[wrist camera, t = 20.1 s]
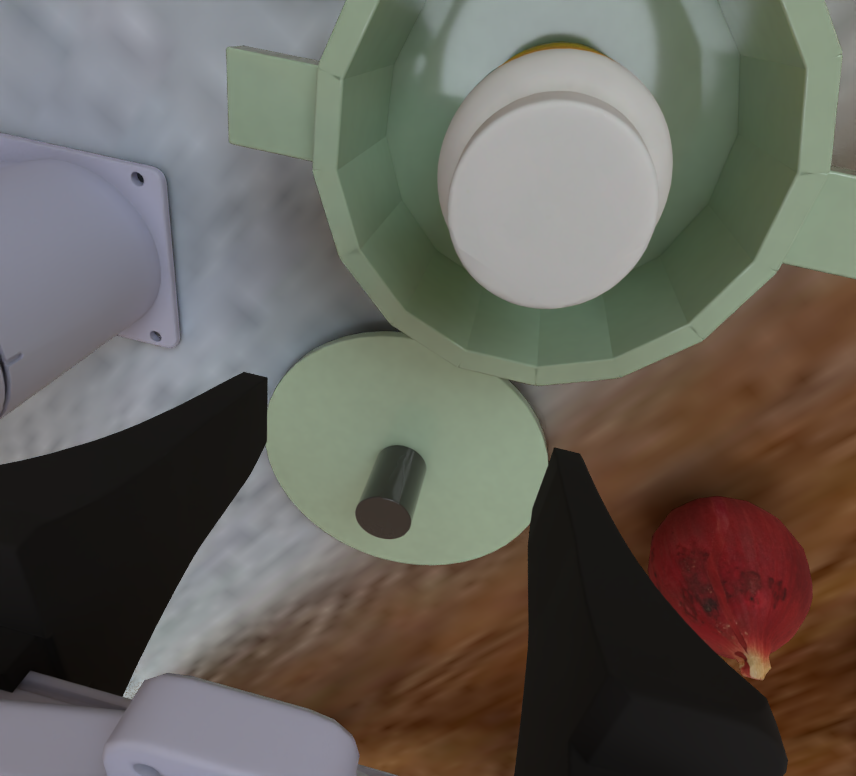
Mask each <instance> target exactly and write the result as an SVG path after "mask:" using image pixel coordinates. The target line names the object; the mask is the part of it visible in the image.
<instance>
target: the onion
mask: <svg viewBox="0 0 856 776" xmlns="http://www.w3.org/2000/svg"><path fill="white" fill-rule="evenodd" d="M648 572H649V577H650V579H651V581H652V582H653V583H654V585H655V586H656V587H657V589H658V590H659V591H660V592H661V594H662V595H663V596H664V597H665V599H666V600H667V601H668V602H669V603H670V604H671V605H672V607H673V608H674V609H675V610H676V611H677V612H678V614H679V615H680V616H681V617H682V618H683V619H684V621H685V622H686V623H687V624H688V625H689V626H690V627H691V628H692V629H693V630H694V631H695V632H696V633H697V634H698V635H699V637H700V638H701V639H702V640H703V641H704V642H705V643H706V644H707V645H708V646H709V647H711V648H712V649H713V650H714V651H715V652H716V653H717V654H718V655H721V656H723V657H727V658H730V659H736V660H737V662H738V663H739V668H740V672H741V673H742V675H743V676H746V677H750V678H753V679H756V680H763V679H764V677H765V675H766V673H767V672H768V671H769V670H770V669H771V665H770V661H769V655H770V653H772V652H774V651H776V650H777V649H779V648H780V647H781V646H783V645H784V644H785V643H787V642H788V641H789V640H790V639H791V638H792V637H793V636H794V635H795V633H796V632H797V630H798V629H799V627H800V626H801V624H802V623H803V621H804V619H805V617H806V615H807V613H808V612H809V609H810V606H811V602H812V598H813V596H812V580H811V575H810V570H809V565H808V562H807V559H806V556H805V552H804V549H803V548H802V546H801V545H800V544H799V543H798V541H797V540H796V539H795V538H794V536H793V535H792V534H791V533H790V532H789V530H788V529H787V528H786V527H785V526H784V524H783V523H782V522H781V521H780V520H779V519H778V518H776V517H775V516H773V515H772V514H770V513H768V512H767V511H765V510H763V509H761V508H759V507H758V506H756V505H754V504H752V503H750V502H748V501H744V500H738V499H732V498H726V497H720V496H714V497H707V498H699V499H695V500H693V501H691V502H688V503H686V504H684V505H682V506H680V507H678V508H675V509H673V510H672V511H671V512H670V513H669V515H668V516H667V517H666V518H665V520H664V521H663V522H662V523H661V525H660V526H659V527H658V529H657V530H656V532H655V533H654V534H653V536H652V542H651V550H650V557H649V565H648Z"/></svg>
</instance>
